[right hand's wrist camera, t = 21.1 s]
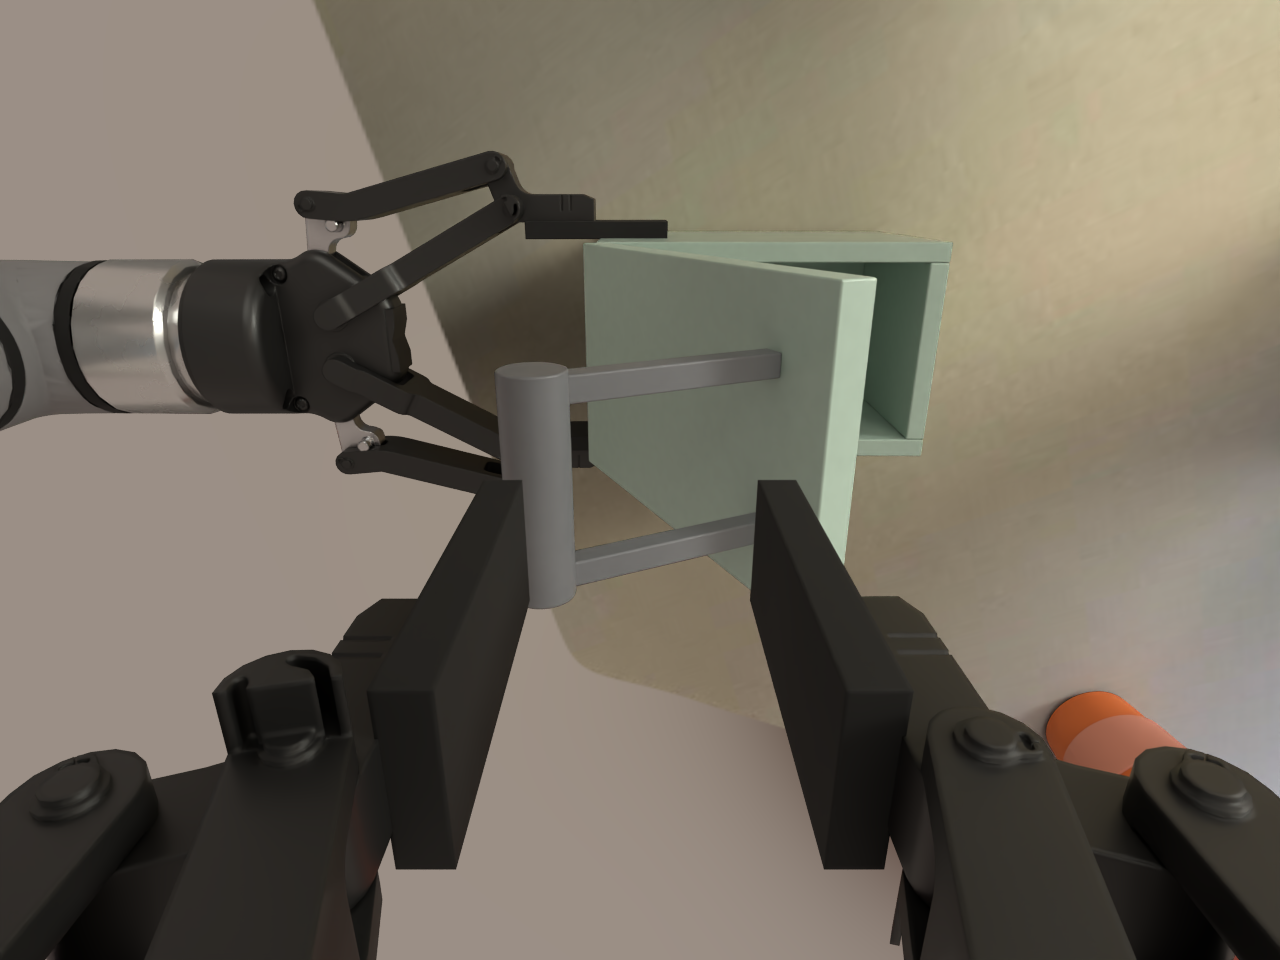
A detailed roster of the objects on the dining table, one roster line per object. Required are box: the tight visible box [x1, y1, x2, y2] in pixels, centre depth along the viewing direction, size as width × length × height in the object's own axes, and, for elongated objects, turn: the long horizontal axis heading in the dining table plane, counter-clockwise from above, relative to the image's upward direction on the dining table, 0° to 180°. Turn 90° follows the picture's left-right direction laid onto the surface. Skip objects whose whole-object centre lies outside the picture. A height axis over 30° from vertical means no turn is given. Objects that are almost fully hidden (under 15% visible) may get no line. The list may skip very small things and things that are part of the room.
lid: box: [494, 243, 877, 609], centre depth 24 cm, size 16×10×9 cm
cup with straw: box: [1046, 691, 1187, 776], centre depth 44 cm, size 9×9×18 cm
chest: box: [596, 231, 953, 456], centre depth 37 cm, size 15×10×11 cm, turn 90°
